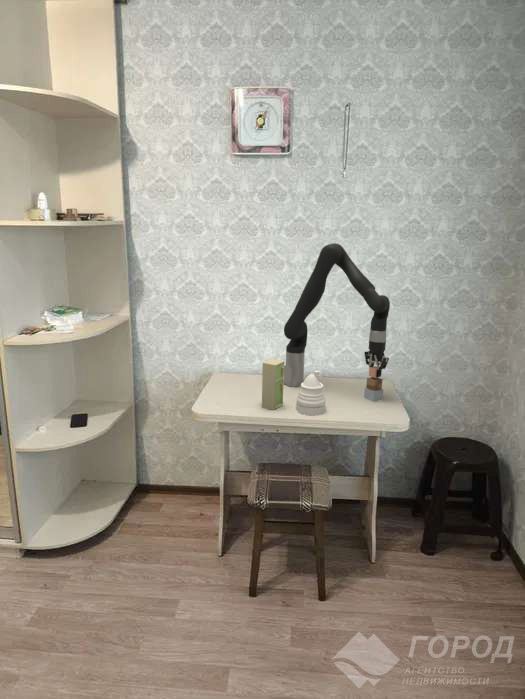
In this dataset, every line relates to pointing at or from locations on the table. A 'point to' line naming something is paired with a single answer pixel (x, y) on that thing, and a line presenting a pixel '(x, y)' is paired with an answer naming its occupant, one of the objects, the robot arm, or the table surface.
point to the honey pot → (311, 396)
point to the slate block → (373, 395)
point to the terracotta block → (373, 371)
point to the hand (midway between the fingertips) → (374, 375)
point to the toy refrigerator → (272, 384)
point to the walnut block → (374, 384)
